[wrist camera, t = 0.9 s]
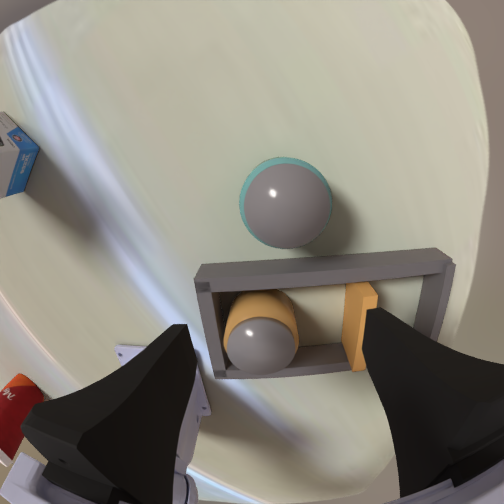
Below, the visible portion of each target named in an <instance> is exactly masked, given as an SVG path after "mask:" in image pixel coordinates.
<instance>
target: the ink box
mask: <svg viewBox="0 0 504 504" xmlns="http://www.w3.org/2000/svg"><path fill="white" fill-rule="evenodd" d="M38 150H39V147H38V146H37V145H36V144H35V143H34V142H33V141H32V140H31V139H30V138H29V137H28V136H27V135H26V134H25V133H24V132H23V131H22V130H21V129H20V128H19V127H18V126H17V125H16V124H15V123H14V122H13V121H12V120H11V119H10V118H9V117H8V116H7V115H6V114H5V113H4V112H0V198H4V197H7V196H10V195H13V194H17V193H20V192H23V191H24V189H25V186H26V183H27V180H28V177H29V175H30V172H31V169H32V166H33V163H34V161H35V158H36V155H37V153H38Z"/></svg>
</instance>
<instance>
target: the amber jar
mask: <svg viewBox="0 0 504 504" xmlns="http://www.w3.org/2000/svg"><path fill="white" fill-rule="evenodd" d="M298 346H299V337H298V331H297V325H296V319H295V313H294V308H293V304H292V302H291V300H290V299H289V298H288V296H287V295H286V294H284V293H283V292H282V291H280V290H278V289H263V290H246V291H242V292H240V293H239V294H238V295H237V296H236V297H235V298H234V300H233V301H232V303H231V306H230V310H229V315H228V320H227V324H226V329H225V334H224V347H225V350H226V352H227V354H228V357H229V359H230V361H231V362H232V363H233V364H234V365H235V366H236V367H237V368H238V369H240V370H242V371H244V372H246V373H250V374H255V375H268V374H273V373H276V372H278V371H280V370H282V369H284V368H285V367H287V366H288V365H289V364H290V363H291V361H292V360H293V358H294V355H295V353H296V351H297V349H298Z"/></svg>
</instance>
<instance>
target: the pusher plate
mask: <svg viewBox="0 0 504 504" xmlns="http://www.w3.org/2000/svg"><path fill="white" fill-rule="evenodd" d="M377 300H378V295H377V293H376V292H375V291H374V289H373V288H372V286H371V285H370V284H369V282H368V281H364V282H354V283H346V293H345V306H344V318H343V328H342V337H341V341H342V344H343V346H344V349H345V352H346V355H347V358H348V361H349V363H350V366H351V369H352V372H356V371H362V370H365V368H366V363H365V360H364V356H363V352H362V343H363V335H364V328H365V319H366V311H367V309H373V308H376V307H377Z"/></svg>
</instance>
